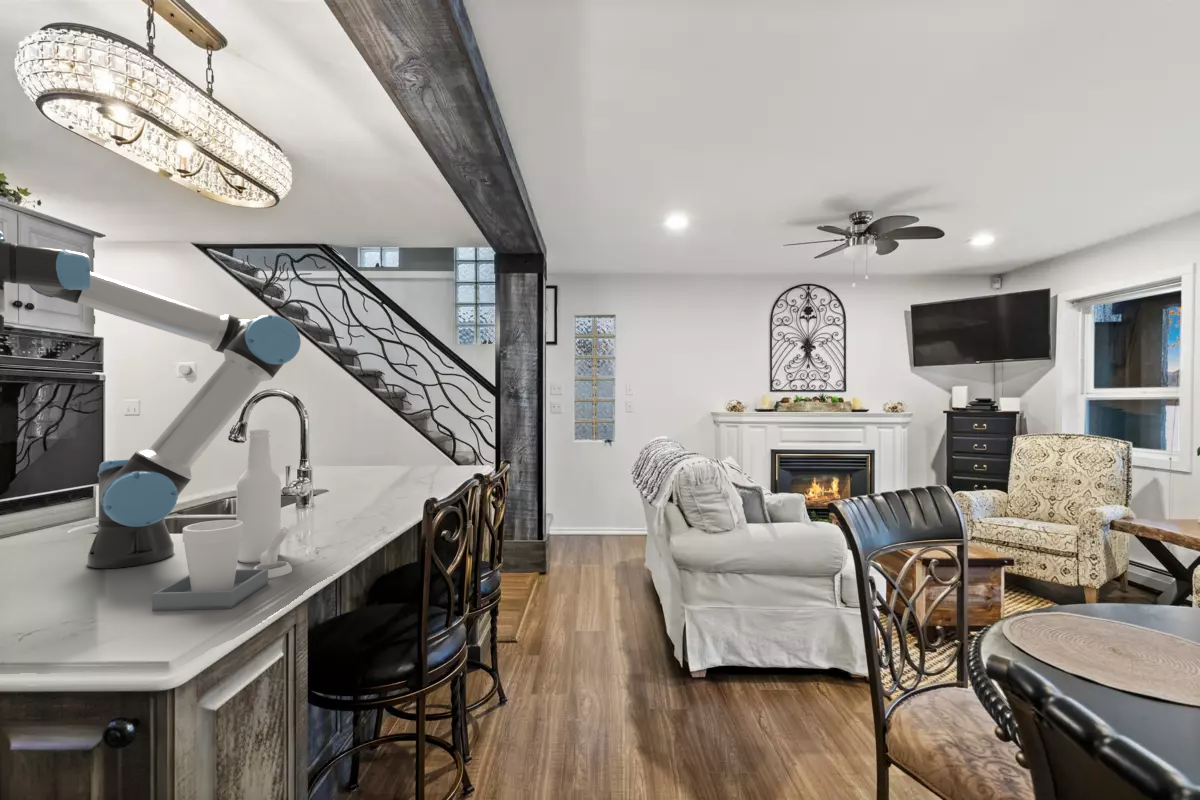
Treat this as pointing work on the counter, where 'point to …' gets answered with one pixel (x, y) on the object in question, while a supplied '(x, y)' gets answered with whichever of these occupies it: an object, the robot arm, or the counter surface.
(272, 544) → the hook
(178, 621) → the counter surface
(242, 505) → the alcohol
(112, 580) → the counter surface
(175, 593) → the tray
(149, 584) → the counter surface
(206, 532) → the foam cup
